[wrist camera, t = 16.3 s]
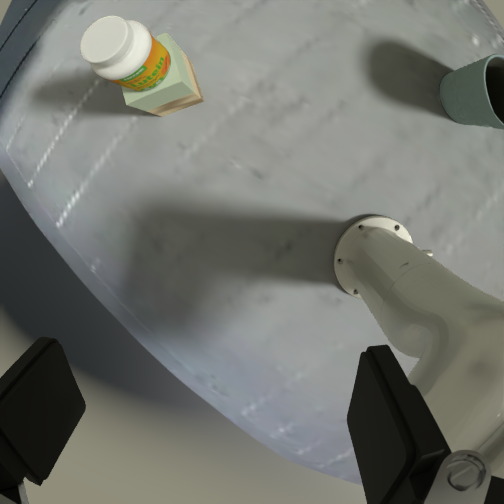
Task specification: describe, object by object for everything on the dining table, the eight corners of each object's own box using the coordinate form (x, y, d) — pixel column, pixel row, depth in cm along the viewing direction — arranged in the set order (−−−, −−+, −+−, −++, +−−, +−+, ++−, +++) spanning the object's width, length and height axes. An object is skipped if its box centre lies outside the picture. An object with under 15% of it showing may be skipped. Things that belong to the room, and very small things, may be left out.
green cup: (454, 57, 33) (499, 40, 21) (491, 106, 34) (539, 102, 23) (424, 93, 35) (471, 81, 24) (464, 144, 37) (515, 147, 25)
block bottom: (191, 63, 35) (181, 49, 30) (204, 101, 37) (194, 92, 31) (151, 79, 36) (135, 69, 30) (162, 116, 38) (146, 111, 32)
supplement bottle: (147, 103, 26) (100, 85, 17) (113, 75, 25) (60, 52, 16) (184, 61, 25) (151, 25, 16) (147, 35, 24) (106, -2, 15)
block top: (181, 49, 30) (166, 32, 24) (194, 92, 31) (181, 81, 26) (134, 69, 30) (113, 56, 25) (146, 111, 32) (126, 104, 26)
